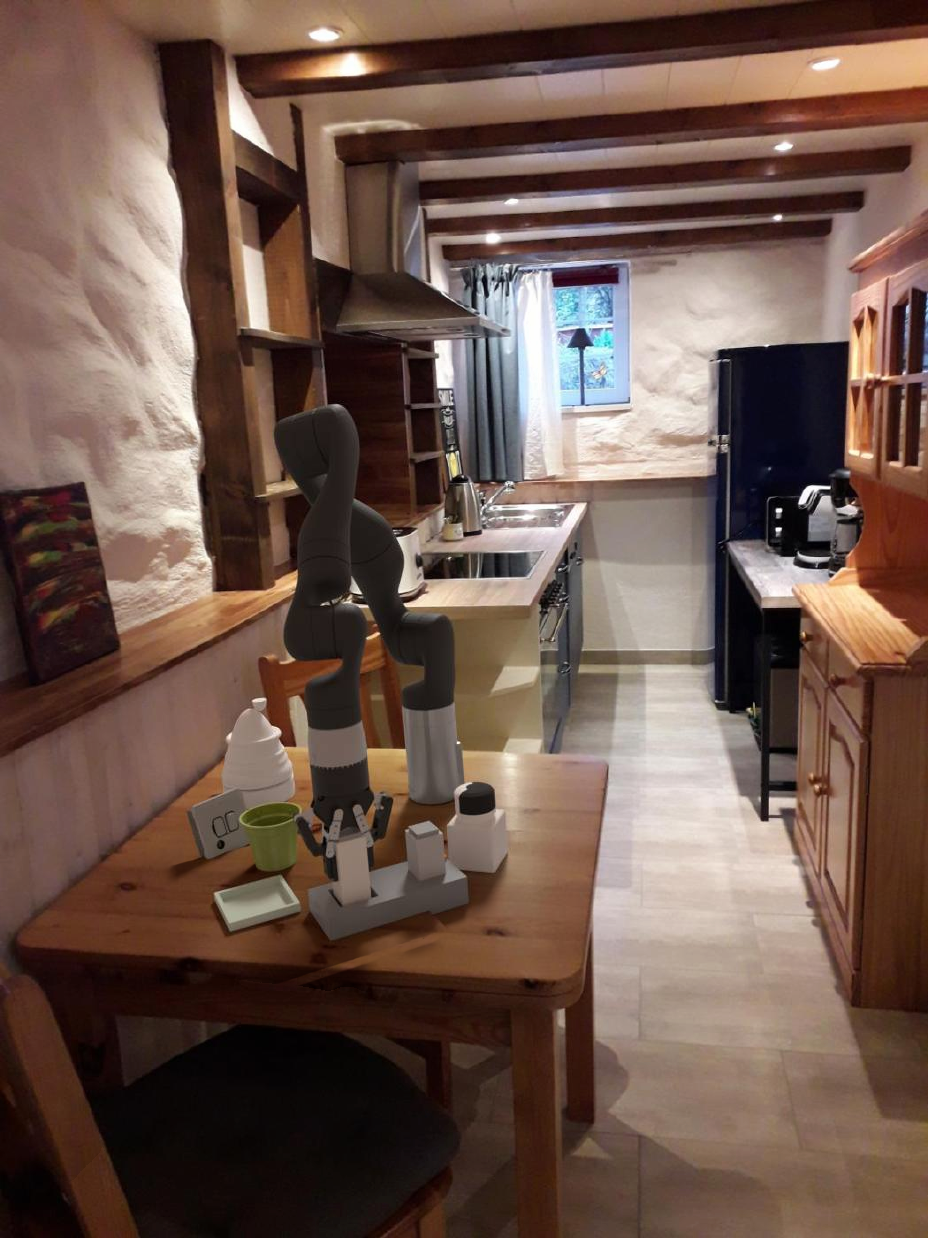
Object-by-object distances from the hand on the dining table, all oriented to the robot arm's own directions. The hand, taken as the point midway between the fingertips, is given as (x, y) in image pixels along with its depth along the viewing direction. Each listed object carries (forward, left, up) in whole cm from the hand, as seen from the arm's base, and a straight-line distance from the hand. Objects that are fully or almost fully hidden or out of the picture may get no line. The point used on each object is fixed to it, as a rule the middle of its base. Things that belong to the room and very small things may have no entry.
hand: (349, 874), depth 128 cm
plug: (0, 0, -3) cm, 3 cm away
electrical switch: (+11, -33, -7) cm, 35 cm away
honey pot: (0, -52, -7) cm, 52 cm away
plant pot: (+5, -22, -7) cm, 23 cm away
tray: (+11, -10, -7) cm, 16 cm away
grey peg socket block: (-5, 0, -7) cm, 9 cm away
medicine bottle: (-22, -6, -7) cm, 24 cm away
